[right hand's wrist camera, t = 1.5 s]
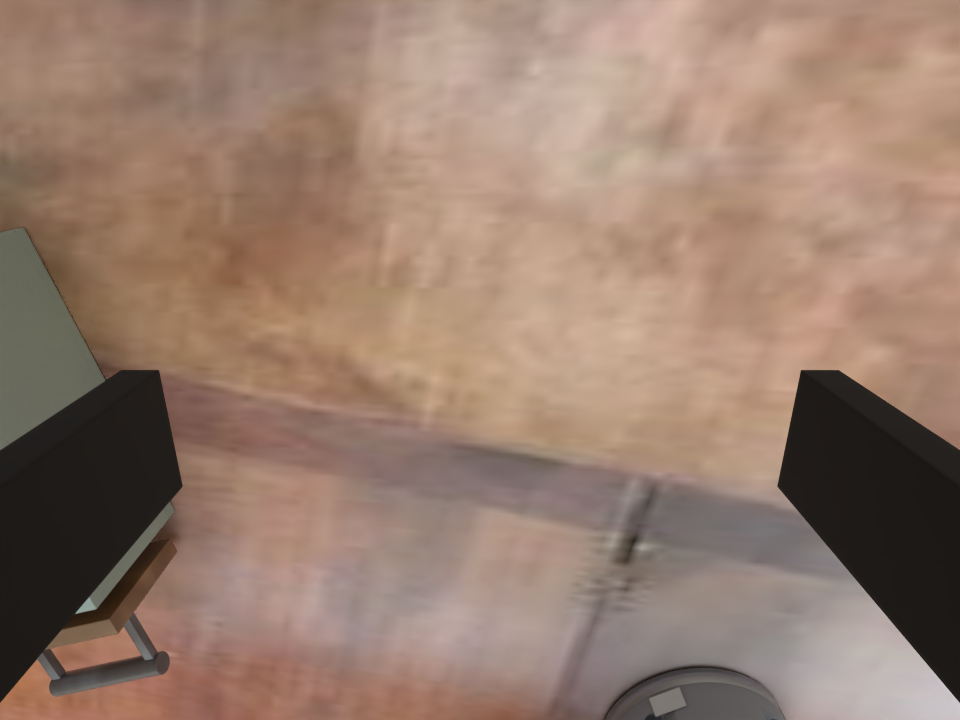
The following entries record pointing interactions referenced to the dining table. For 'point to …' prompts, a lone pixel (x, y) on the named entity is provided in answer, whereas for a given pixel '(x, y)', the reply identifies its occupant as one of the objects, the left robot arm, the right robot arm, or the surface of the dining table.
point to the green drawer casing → (46, 366)
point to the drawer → (114, 629)
